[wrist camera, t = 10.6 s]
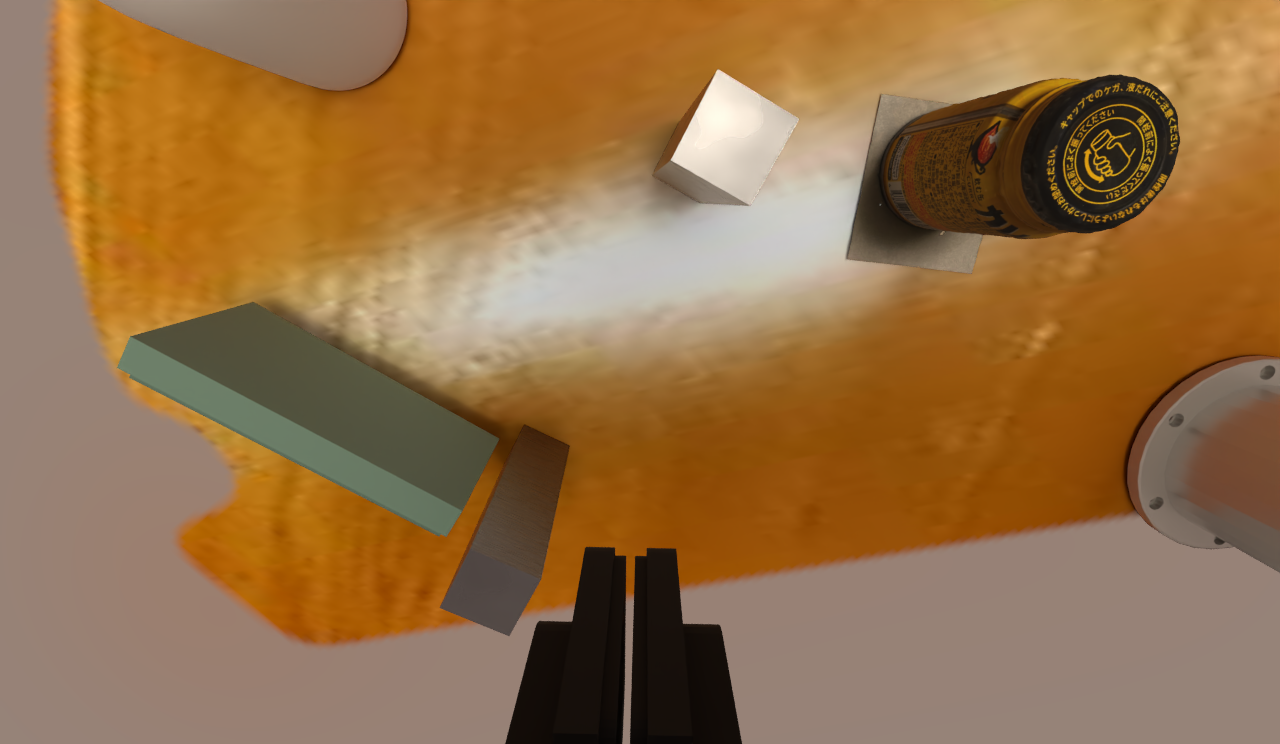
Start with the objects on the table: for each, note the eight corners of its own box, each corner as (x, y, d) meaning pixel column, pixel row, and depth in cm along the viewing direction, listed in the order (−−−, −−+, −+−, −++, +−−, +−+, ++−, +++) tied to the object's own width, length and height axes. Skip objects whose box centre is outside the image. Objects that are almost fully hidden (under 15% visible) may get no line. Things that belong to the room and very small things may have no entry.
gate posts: (728, 151, 31) (799, 118, 19) (548, 485, 36) (509, 636, 24) (679, 122, 31) (717, 69, 18) (503, 465, 36) (439, 607, 23)
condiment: (1013, 112, 31) (1243, 62, 20) (969, 273, 33) (1152, 312, 22) (879, 94, 31) (1034, 32, 19) (844, 258, 33) (963, 291, 21)
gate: (499, 438, 33) (462, 510, 26) (482, 466, 34) (441, 545, 26) (253, 301, 31) (130, 336, 23) (238, 333, 31) (112, 378, 23)
